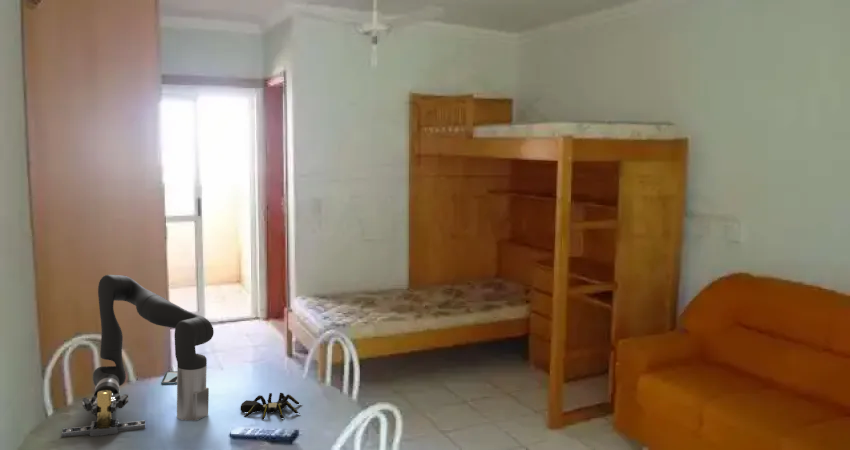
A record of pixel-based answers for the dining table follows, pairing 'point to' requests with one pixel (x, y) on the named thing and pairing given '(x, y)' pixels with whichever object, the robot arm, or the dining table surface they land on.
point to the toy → (268, 405)
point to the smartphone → (170, 378)
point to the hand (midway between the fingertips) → (104, 411)
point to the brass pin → (104, 409)
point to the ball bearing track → (103, 431)
